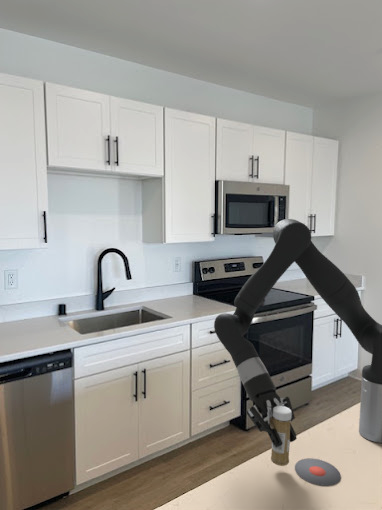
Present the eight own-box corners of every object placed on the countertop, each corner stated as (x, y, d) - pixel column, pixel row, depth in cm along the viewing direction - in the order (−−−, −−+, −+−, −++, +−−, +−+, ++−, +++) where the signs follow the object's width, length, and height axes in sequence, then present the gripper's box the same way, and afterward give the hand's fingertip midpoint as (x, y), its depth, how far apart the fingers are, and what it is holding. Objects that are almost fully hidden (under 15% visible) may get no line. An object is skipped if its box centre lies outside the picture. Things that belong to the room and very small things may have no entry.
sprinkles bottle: (292, 463, 96) (295, 410, 95) (279, 468, 94) (282, 415, 93) (279, 454, 100) (281, 403, 99) (266, 459, 97) (269, 407, 97)
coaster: (314, 454, 105) (314, 453, 105) (350, 476, 95) (350, 476, 95) (285, 466, 99) (285, 466, 99) (321, 491, 89) (321, 491, 89)
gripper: (242, 376, 98) (274, 446, 89) (282, 367, 106) (315, 430, 96) (228, 389, 103) (257, 456, 93) (267, 380, 110) (297, 441, 101)
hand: (286, 442), depth 95 cm, fingers closed on sprinkles bottle, 4 cm apart
